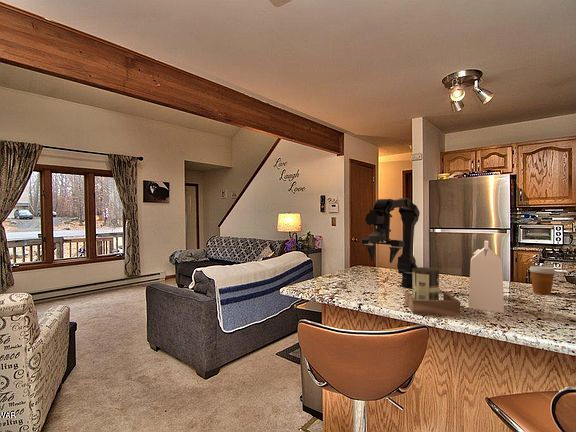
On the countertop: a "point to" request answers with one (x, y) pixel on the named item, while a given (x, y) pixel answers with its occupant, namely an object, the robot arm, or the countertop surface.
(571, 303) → the countertop surface
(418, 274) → the coffee can
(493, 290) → the milk
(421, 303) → the brown tray
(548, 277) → the disposable coffee cup
